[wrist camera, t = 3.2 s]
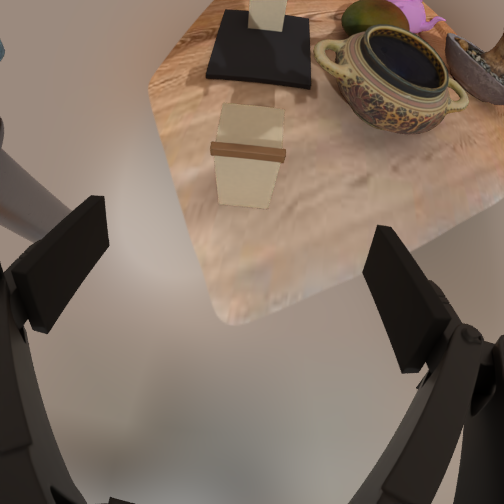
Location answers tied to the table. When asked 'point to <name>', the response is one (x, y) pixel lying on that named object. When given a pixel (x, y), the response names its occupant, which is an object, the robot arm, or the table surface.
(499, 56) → the planter
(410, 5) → the teapot
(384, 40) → the ceramic bowl
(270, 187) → the cream rectangular block
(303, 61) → the base
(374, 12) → the fruit
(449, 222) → the table surface
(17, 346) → the robot arm
